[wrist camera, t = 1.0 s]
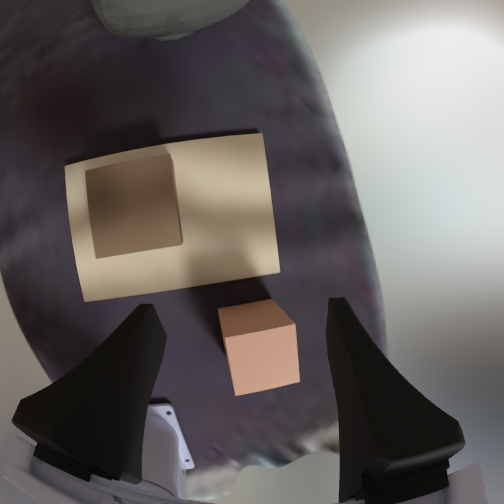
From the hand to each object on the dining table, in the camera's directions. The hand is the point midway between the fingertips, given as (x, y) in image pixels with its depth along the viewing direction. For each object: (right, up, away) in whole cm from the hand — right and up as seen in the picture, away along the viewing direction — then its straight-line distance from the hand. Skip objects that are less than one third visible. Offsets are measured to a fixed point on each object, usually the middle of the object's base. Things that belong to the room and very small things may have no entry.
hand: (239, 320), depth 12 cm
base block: (-8, +6, +9) cm, 13 cm away
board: (-6, +5, +10) cm, 13 cm away
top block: (0, -4, +12) cm, 13 cm away
